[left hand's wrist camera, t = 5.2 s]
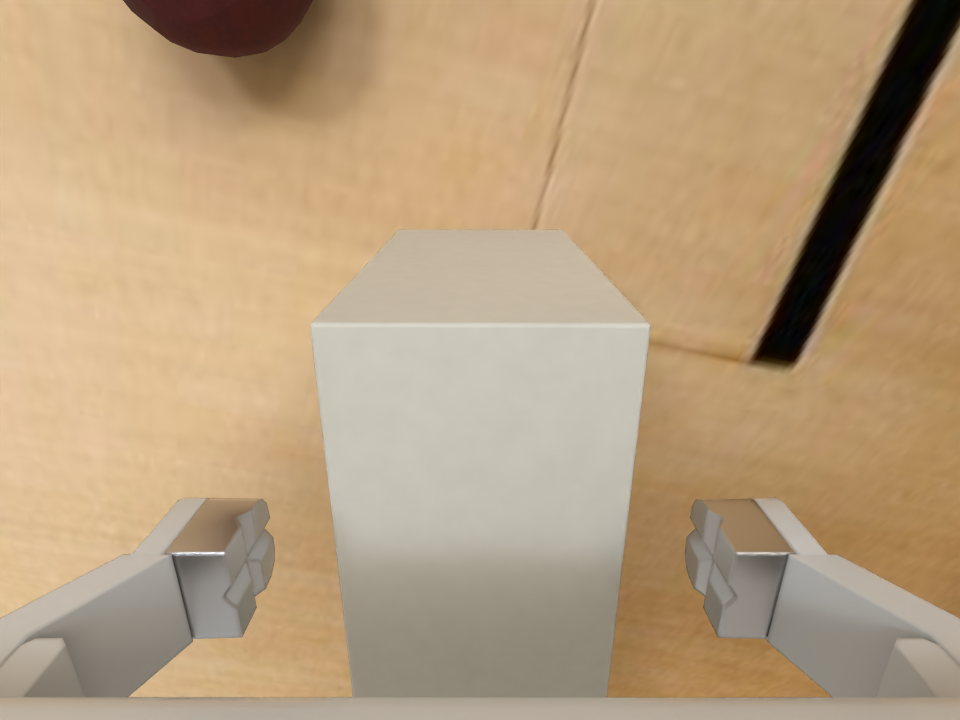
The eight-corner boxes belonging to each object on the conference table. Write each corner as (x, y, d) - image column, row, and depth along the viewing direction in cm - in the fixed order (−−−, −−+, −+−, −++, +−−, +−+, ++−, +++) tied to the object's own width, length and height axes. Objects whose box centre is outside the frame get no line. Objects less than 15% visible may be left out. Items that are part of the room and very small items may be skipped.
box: (397, 229, 21) (308, 322, 10) (563, 229, 21) (652, 323, 10) (423, 723, 31) (392, 1040, 20) (536, 723, 31) (566, 1041, 20)
